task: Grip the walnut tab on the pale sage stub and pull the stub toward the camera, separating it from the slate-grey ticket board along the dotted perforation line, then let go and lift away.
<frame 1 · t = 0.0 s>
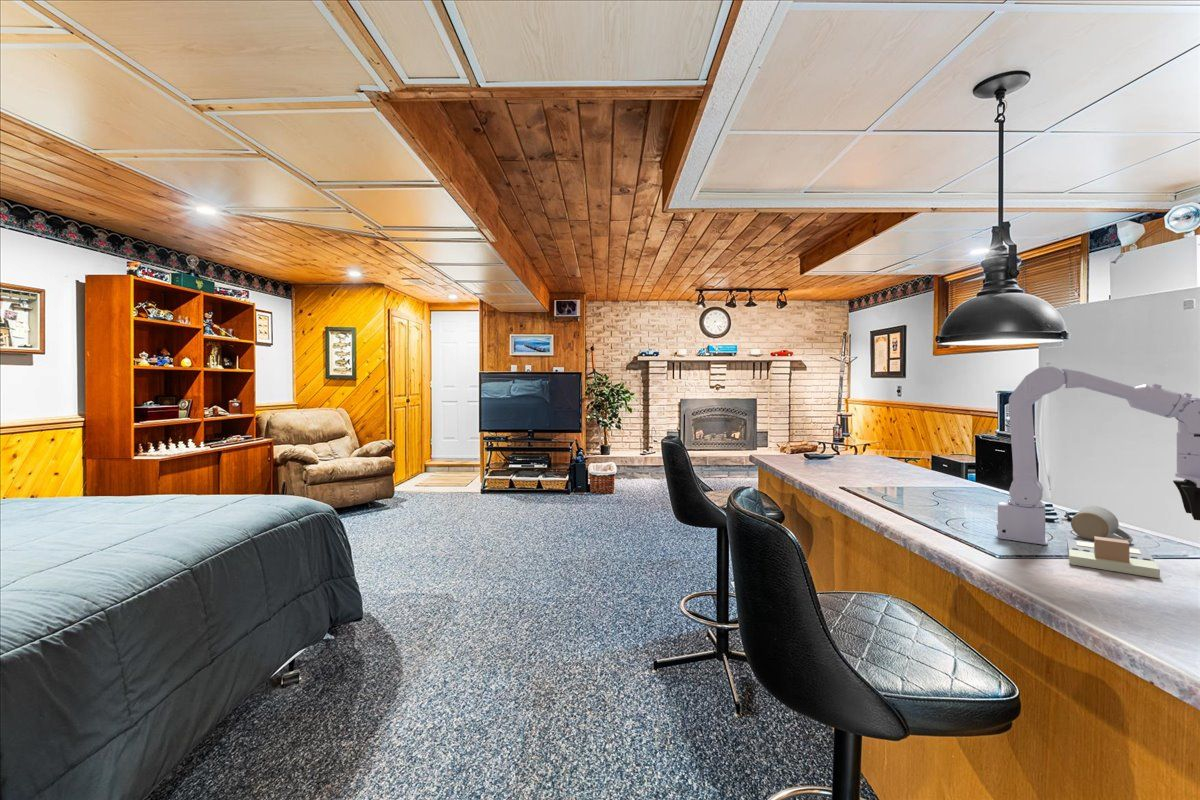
hand: (1197, 516, 106), 10 cm above the countertop, tool pointing down, fingers open, 7 cm apart
ceramic mug: (1101, 540, 124), on the countertop
stub: (1111, 553, 104), point 3 cm above the countertop, slide at 0.0 cm
ticket board: (1107, 557, 110), on the countertop
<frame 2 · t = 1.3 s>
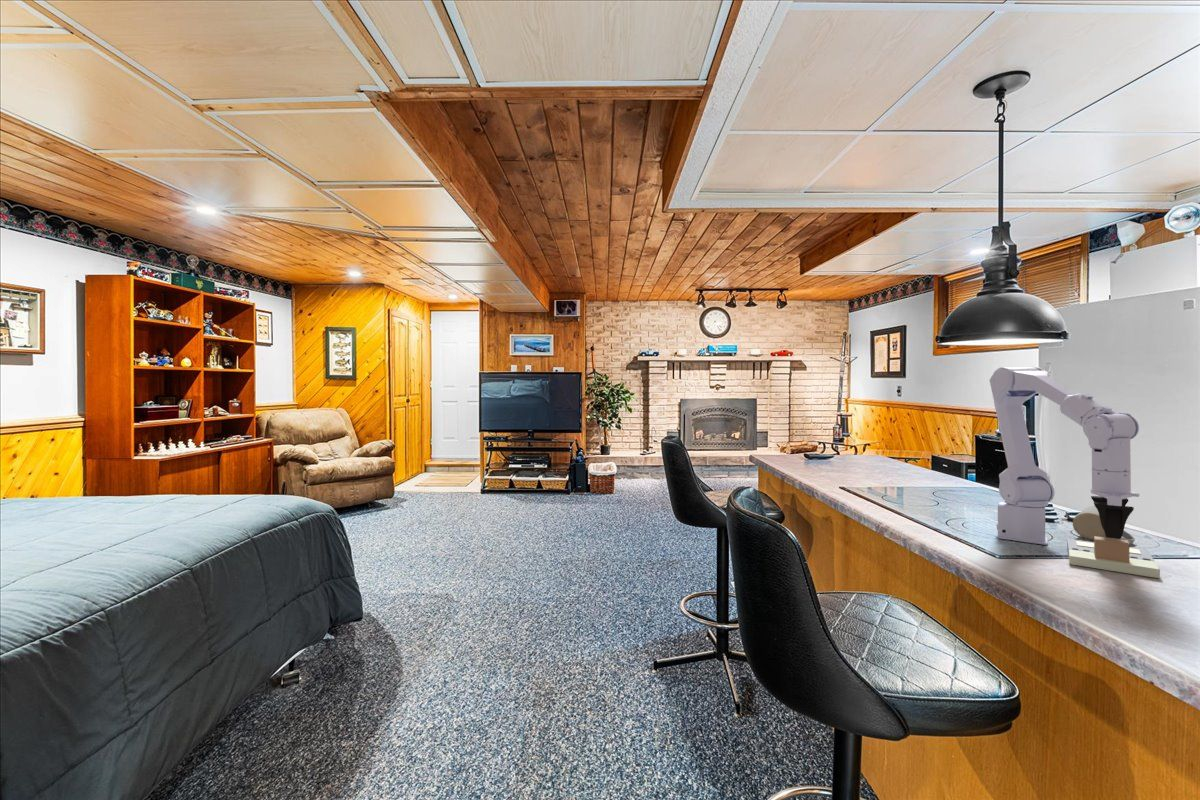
hand: (1111, 534, 104), 7 cm above the countertop, tool pointing down, fingers open, 7 cm apart
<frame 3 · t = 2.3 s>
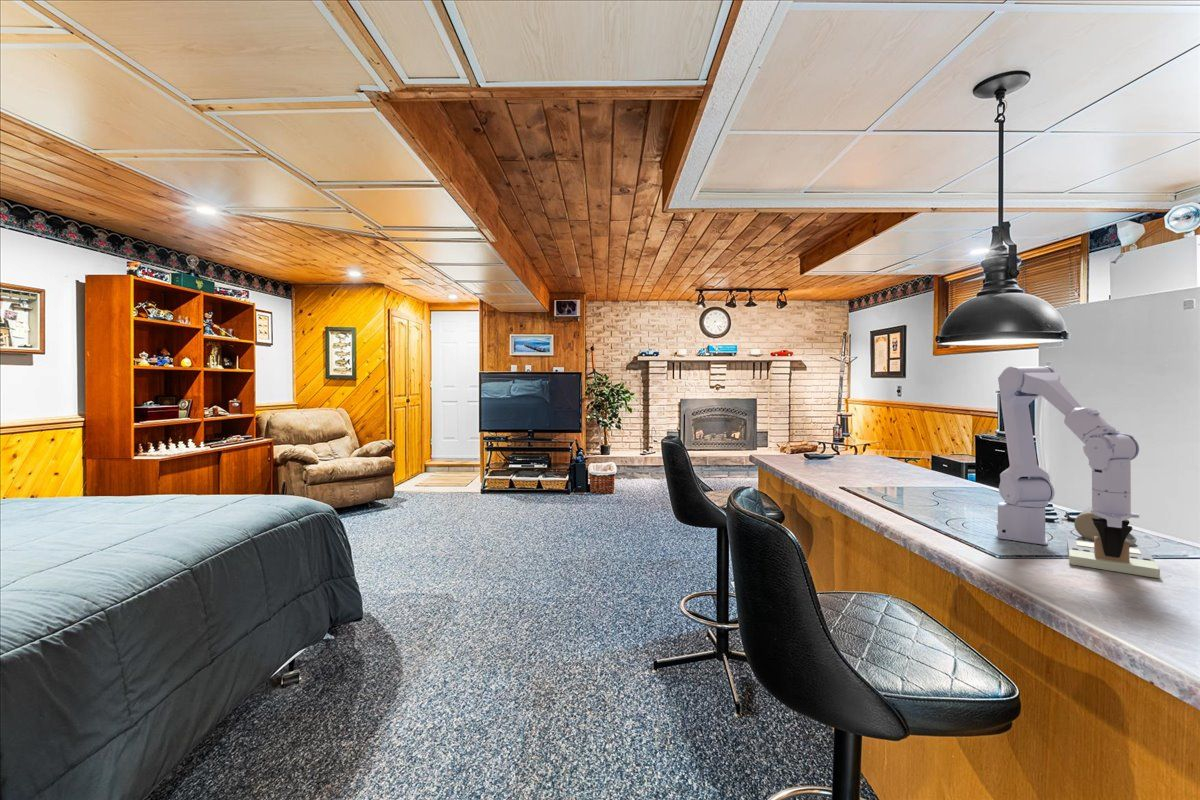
hand: (1111, 554, 104), 3 cm above the countertop, tool pointing down, fingers closed on stub, 3 cm apart
stub: (1111, 553, 104), point 3 cm above the countertop, slide at 0.0 cm, touching gripper
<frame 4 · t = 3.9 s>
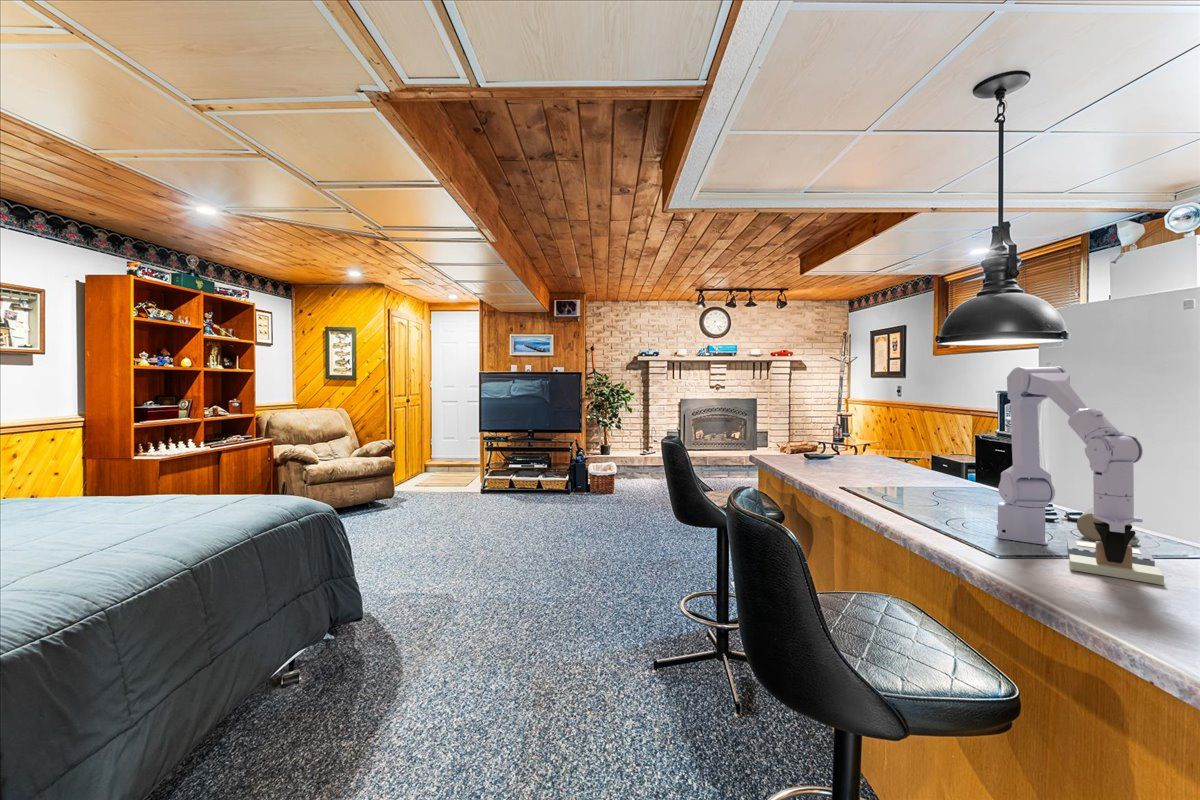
hand: (1113, 559, 101), 3 cm above the countertop, tool pointing down, fingers closed on stub, 3 cm apart
stub: (1113, 558, 101), point 3 cm above the countertop, slide at 4.5 cm, touching gripper
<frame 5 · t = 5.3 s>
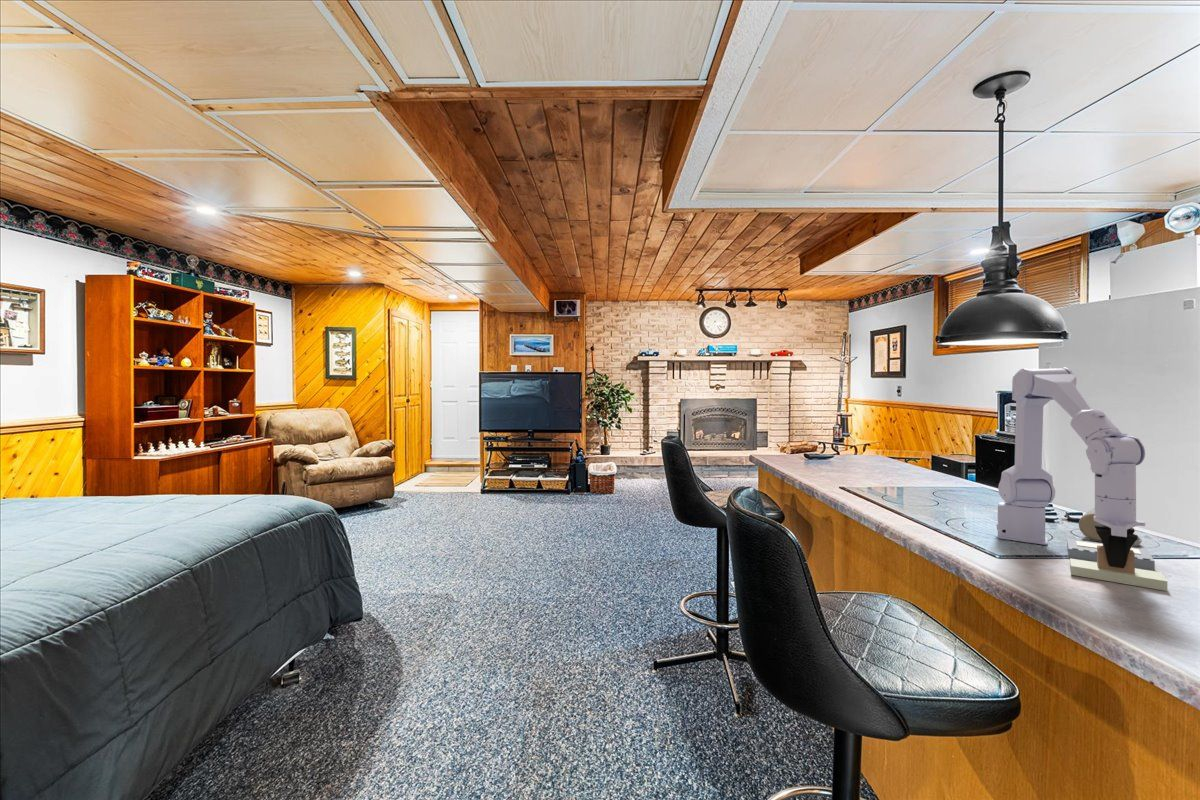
hand: (1115, 564, 98), 3 cm above the countertop, tool pointing down, fingers closed on stub, 3 cm apart
stub: (1115, 563, 98), point 3 cm above the countertop, slide at 8.2 cm, touching gripper
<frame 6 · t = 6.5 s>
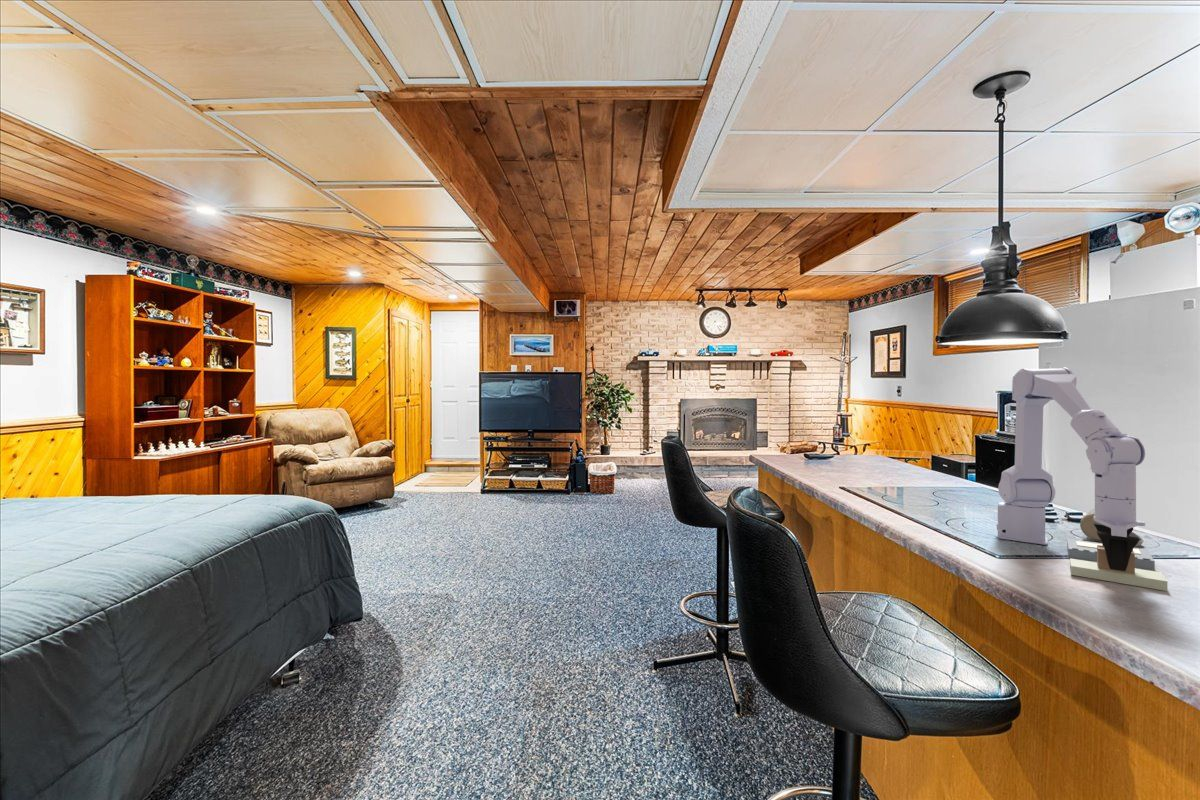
hand: (1115, 564, 98), 3 cm above the countertop, tool pointing down, fingers open, 7 cm apart
stub: (1115, 563, 98), point 3 cm above the countertop, slide at 8.2 cm
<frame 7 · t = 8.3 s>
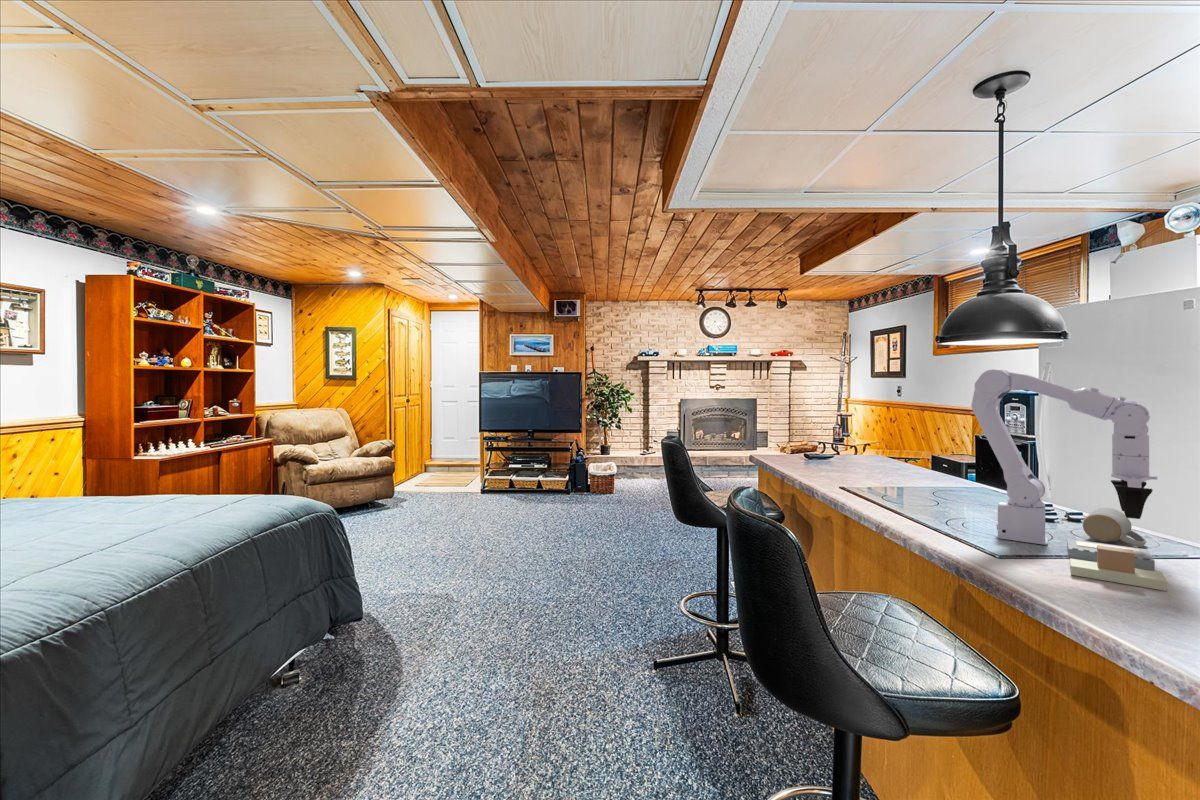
hand: (1130, 514, 111), 9 cm above the countertop, tool pointing down, fingers open, 7 cm apart
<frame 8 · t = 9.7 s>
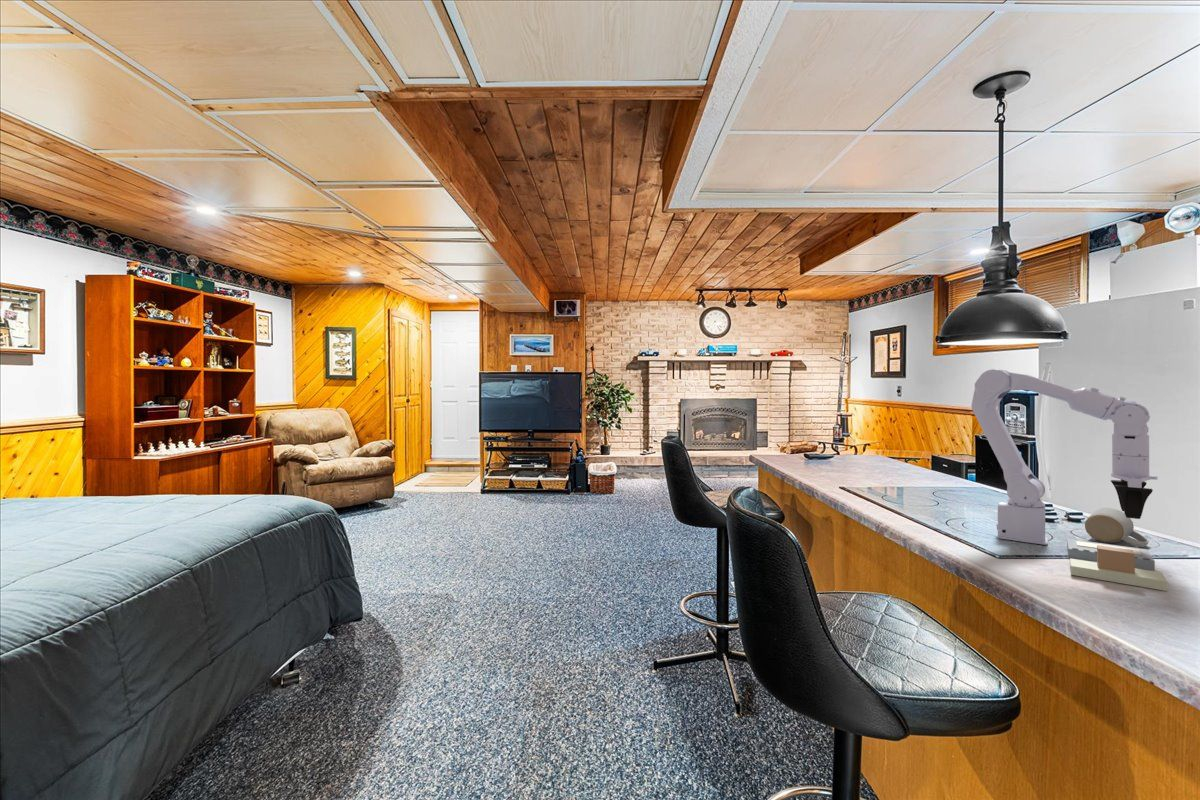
hand: (1130, 514, 111), 9 cm above the countertop, tool pointing down, fingers open, 7 cm apart
at the end: stub slide at 8.2 cm; the gripper is holding nothing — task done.
